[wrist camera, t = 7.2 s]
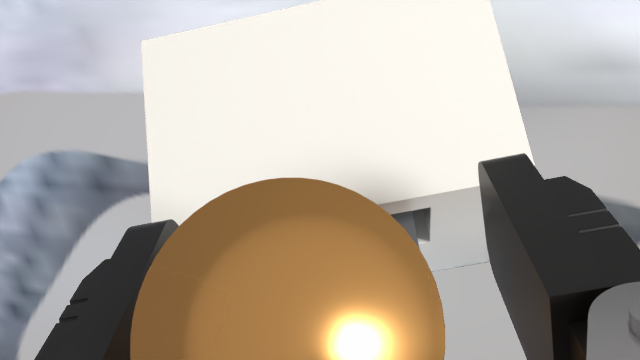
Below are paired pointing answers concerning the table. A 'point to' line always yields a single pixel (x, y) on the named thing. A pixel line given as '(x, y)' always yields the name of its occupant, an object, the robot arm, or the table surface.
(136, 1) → the table surface
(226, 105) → the socket block
